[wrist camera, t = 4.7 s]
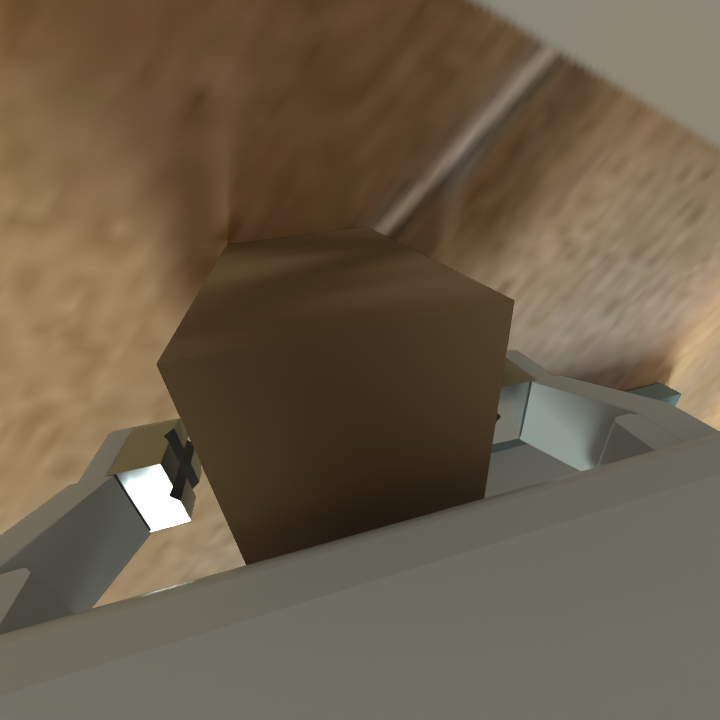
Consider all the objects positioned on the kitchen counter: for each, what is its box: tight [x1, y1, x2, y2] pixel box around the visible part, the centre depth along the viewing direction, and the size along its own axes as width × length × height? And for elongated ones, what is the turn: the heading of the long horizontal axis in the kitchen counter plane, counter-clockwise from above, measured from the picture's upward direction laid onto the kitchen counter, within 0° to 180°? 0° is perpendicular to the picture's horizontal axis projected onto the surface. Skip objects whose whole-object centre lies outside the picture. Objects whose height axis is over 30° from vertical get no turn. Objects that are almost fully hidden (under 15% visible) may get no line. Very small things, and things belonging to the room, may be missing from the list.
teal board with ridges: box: [484, 383, 681, 498], centre depth 19 cm, size 13×18×3 cm
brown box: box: [157, 227, 514, 565], centre depth 9 cm, size 4×8×7 cm, turn 4°
